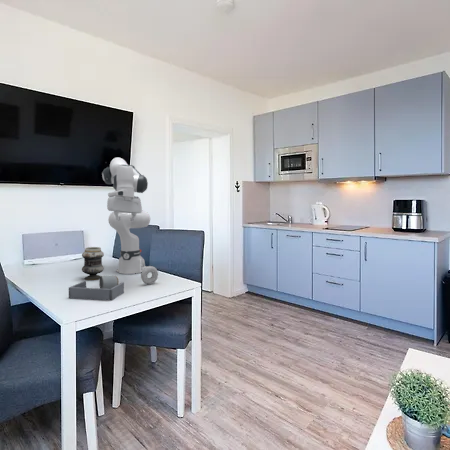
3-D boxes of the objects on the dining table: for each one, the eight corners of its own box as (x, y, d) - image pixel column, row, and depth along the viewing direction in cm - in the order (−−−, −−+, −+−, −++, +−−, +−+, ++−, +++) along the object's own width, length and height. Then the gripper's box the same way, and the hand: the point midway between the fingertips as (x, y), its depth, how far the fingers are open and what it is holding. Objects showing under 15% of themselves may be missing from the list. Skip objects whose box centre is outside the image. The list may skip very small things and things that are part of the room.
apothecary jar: (96, 281, 183) (95, 249, 182) (77, 280, 185) (76, 248, 184) (108, 276, 195) (107, 246, 193) (90, 275, 197) (89, 246, 196)
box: (84, 290, 164) (84, 280, 164) (123, 292, 161) (123, 282, 161) (68, 298, 151) (68, 287, 151) (111, 300, 148) (111, 289, 148)
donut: (142, 286, 173) (142, 267, 173) (139, 285, 176) (139, 266, 175) (159, 283, 180) (159, 265, 179) (156, 282, 183) (156, 264, 182)
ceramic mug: (119, 290, 165) (119, 275, 165) (102, 292, 160) (102, 277, 160) (113, 286, 174) (113, 272, 173) (97, 288, 169) (97, 273, 169)
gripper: (136, 197, 181) (136, 222, 180) (105, 192, 164) (105, 220, 162) (144, 196, 177) (144, 221, 176) (113, 191, 160) (113, 219, 159)
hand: (125, 220), depth 169 cm, fingers open, 8 cm apart
